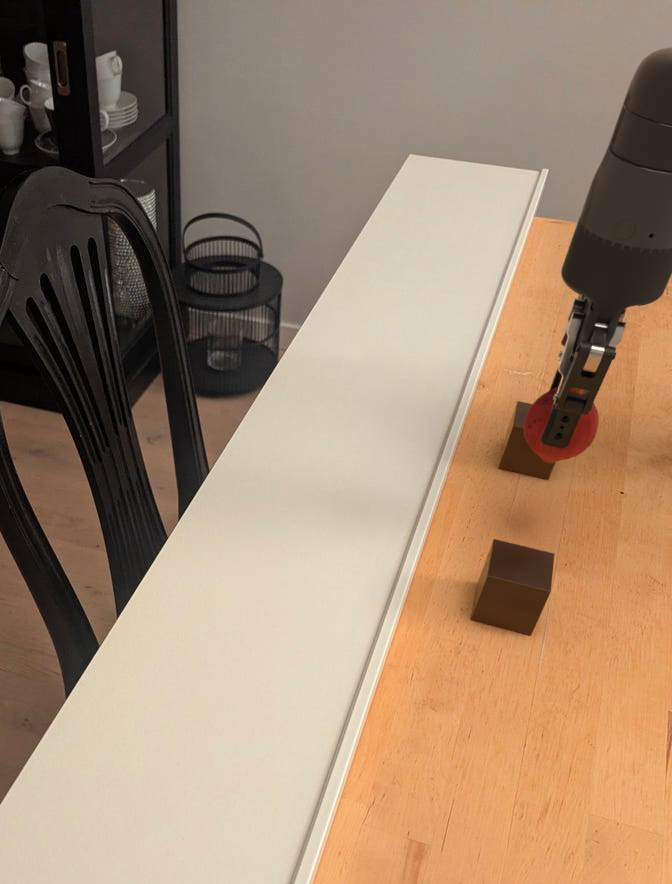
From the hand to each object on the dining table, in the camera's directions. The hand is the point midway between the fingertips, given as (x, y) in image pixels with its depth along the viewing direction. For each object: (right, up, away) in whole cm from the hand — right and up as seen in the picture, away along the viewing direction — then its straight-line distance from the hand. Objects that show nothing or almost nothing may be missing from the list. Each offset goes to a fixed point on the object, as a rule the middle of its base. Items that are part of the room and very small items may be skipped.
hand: (555, 423), depth 78 cm
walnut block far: (+3, 0, +16) cm, 16 cm away
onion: (0, -3, +3) cm, 4 cm away
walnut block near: (-4, -16, 0) cm, 16 cm away
